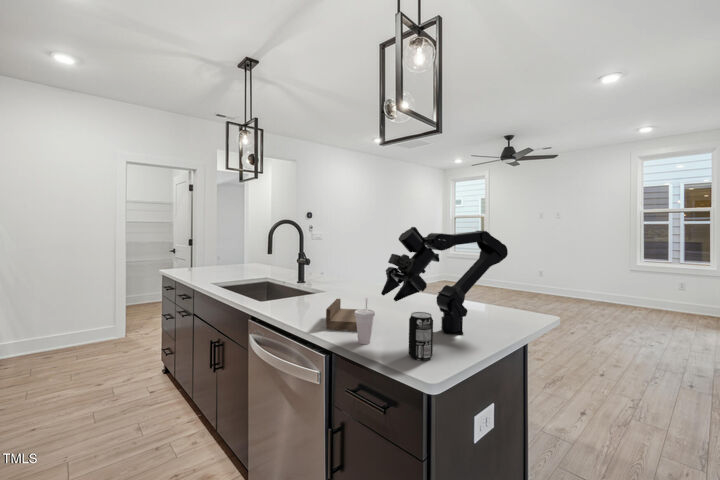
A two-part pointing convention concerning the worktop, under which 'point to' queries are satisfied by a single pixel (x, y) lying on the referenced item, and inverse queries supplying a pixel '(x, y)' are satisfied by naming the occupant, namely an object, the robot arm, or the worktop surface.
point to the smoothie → (364, 324)
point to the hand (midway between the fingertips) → (388, 297)
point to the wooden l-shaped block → (340, 317)
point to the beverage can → (420, 336)
